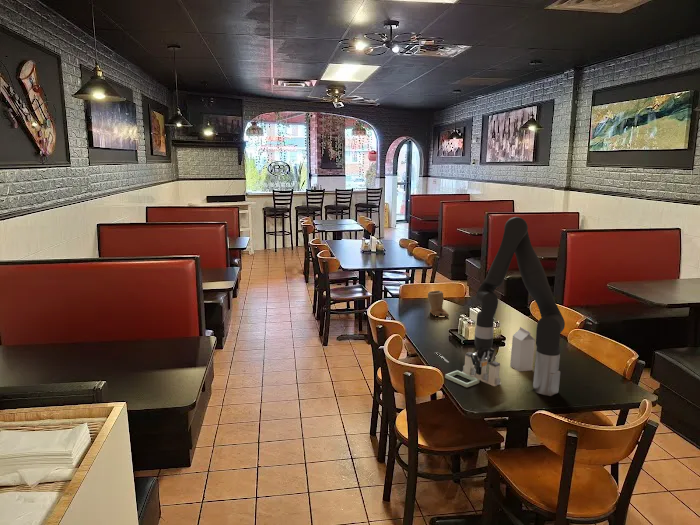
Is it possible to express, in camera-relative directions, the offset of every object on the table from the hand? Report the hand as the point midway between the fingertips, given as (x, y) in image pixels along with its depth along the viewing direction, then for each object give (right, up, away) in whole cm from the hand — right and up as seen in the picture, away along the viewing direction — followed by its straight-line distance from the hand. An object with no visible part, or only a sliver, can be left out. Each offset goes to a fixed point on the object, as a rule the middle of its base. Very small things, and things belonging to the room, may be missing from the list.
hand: (481, 373), depth 222 cm
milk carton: (+22, -1, +16) cm, 27 cm away
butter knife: (-10, 0, +20) cm, 23 cm away
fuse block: (0, -4, +1) cm, 4 cm away
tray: (-9, -4, -2) cm, 10 cm away
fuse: (0, -2, 0) cm, 2 cm away
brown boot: (-3, +15, +97) cm, 98 cm away
